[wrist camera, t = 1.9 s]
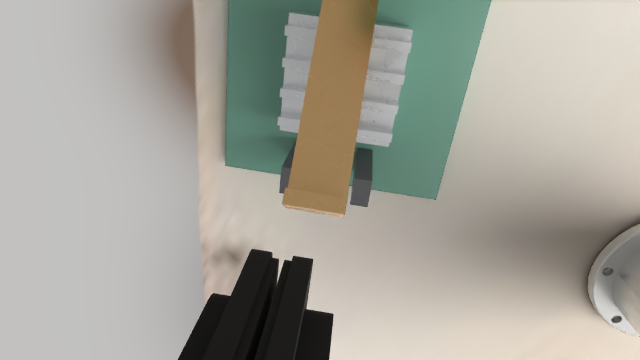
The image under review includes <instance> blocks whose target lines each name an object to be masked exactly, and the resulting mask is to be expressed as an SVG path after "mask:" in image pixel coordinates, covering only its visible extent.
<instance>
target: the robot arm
mask: <svg viewBox="0 0 640 360" xmlns="http://www.w3.org/2000/svg"><path fill="white" fill-rule="evenodd" d="M312 265H313V259H310V258H304V257H298V256H293V259H292V261H288V260H284V263H283V267H282V270H281V273H280V277H279V280H278V283H277V276H278V266H279V259H276V258H272V252H268V251H262V250H256V249H252V250H251V251H250V253H249V256H248V258H247V260H246V262H245V265H244V267H243V269H242V271H241V274H240V276H239V278H238V281H237V283H236V285H235V287H234V290H233V292H232V294H231V296H226V295H220V294H215V293H213V294H212V295H211V296H210V298H209V299H208V301H207V303H206V305H205V307H204V309H203V311H202V313H201V315H200V317H199V319H198V321H197V323H196V325H195V327H194V329H193V331H192V333H191V335H190V337H189V339H188V341H187V343H186V345H185V347H184V348H183V350H182V352H181V354H180V356H179V358H178V360H329V355H330V345H331V335H332V325H333V314H331V313H325V312H319V311H314V310H308V309H306V307H307V300H308V293H309V286H310V279H311V272H312ZM588 293H589V298H590V300H591V302H592V304H593V306H594V308H595V309H596V310H597V312H598V313H599V314H600V316H601V317H602V318H603V319H604V320H605V321H606V322H607V323H608V324H609V325H611V326H613V327H615V328H616V329H618V330H620V331H622V332H625V333H628V334H631V335H635V336H640V224H638V225H635V226H633V227H631V228H630V229H628V230H626V231H625V232H623V233H621V234H620V235H618V236H617V237H616V238H615V239H614V240H612V241H611V242H610V243H609V244H608V245H607V246H606V247H605V248H604V249H603V250H602V251H601V253H600V254H599V255H598V256H597V258H596V260H595V262H594V263H593V265H592V267H591V270H590V273H589V276H588Z"/></svg>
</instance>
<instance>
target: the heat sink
mask: <svg viewBox="0 0 640 360" xmlns="http://www.w3.org/2000/svg"><path fill="white" fill-rule="evenodd" d="M319 16H320V14H318V13H310V12H303V11H294V12H290V13H289V20H288V24H287V25H285V33H284V35H286V36H287V45H286V56H284V57H283V59H282V67H284V68H285V70H284V82H283V86H282V87H281V88H280V97H282V107H281V114H280V115H279V116H278V123H277V125H280V130H282V131H288V132H295V133H298V130H299V124H300V119H301V113H302V108H303V103H304V97H305V92H306V86H307V81H308V76H309V70H310V65H311V59H312V54H313V48H314V43H315V38H316V32H317V27H318V21H319ZM412 32H413V29H412V28H411V27H410V26H405V25H397V24H390V23H383V22H376V21H375V26H374V32H373V38H372V45H371V51H370V57H369V63H368V70H367V76H366V82H365V88H364V95H363V101H362V107H361V114H360V120H359V126H358V132H357V139H356V142H359V143H365V144H372V145H378V146H385V147H389V143H391V141H392V136H393V132H392V129H393V124H394V119H395V115H397V112H398V107H399V105H398V100H399V95H400V90H401V85H403V83H404V79H405V74H404V71H405V66H406V61H407V56H408V53H410V50H411V45H412V43H411V37H412Z"/></svg>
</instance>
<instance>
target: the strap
mask: <svg viewBox="0 0 640 360" xmlns="http://www.w3.org/2000/svg"><path fill="white" fill-rule="evenodd" d="M378 1H379V0H322V5H321V10H320V16H319V21H318V27H317V32H316V38H315V43H314V48H313V54H312V59H311V65H310V70H309V76H308V81H307V86H306V92H305V97H304V103H303V108H302V113H301V119H300V124H299V130H298V135H297V141H296V146H295V151H294V157H293V162H292V168H291V173H290V179H289V184H288V188H285V192H284V197H283V202H282V204H283V205H284V206H285V207H286V208H289V209H295V210H301V211H307V212H313V213H319V214H325V215H331V216H337V217H343V218H344V215H345V209H346V203H347V195H348V189H349V183H350V176H351V170H352V164H353V157H354V151H355V145H356V139H357V132H358V126H359V120H360V114H361V107H362V101H363V95H364V88H365V82H366V76H367V70H368V63H369V57H370V51H371V45H372V38H373V32H374V26H375V20H376V13H377V7H378Z"/></svg>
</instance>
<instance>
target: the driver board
mask: <svg viewBox="0 0 640 360" xmlns="http://www.w3.org/2000/svg"><path fill="white" fill-rule="evenodd" d="M490 3H491V0H379V1H378V7H377V13H376V20H375V21H376V22H383V23H390V24H397V25H405V26H410V27H411V28H412V29H413V32H412V37H411V43H412V45H411V50H410V53H408V56H407V61H406V66H405V71H404V74H405V79H404V83H403V85H401V90H400V95H399V100H398V105H399V107H398V112H397V115H395V119H394V124H393V129H392V132H393V136H392V141H391V143H389V147H385V146H378V145H372V144H365V143H359V142H356V145H355V151H354V157H353V164H352V170H351V176H350V183H349V186H352V192H351V201H350V204H351V205H357V206H363V207H367V206H368V201H369V196H370V191H371V189H372V190H378V191H385V192H391V193H397V194H403V195H409V196H415V197H422V198H428V199H434V200H436V197H437V194H438V190H439V186H440V183H441V179H442V176H443V172H444V168H445V165H446V161H447V158H448V154H449V150H450V147H451V143H452V140H453V136H454V133H455V129H456V125H457V122H458V118H459V115H460V111H461V107H462V104H463V100H464V97H465V93H466V89H467V86H468V82H469V79H470V75H471V71H472V68H473V64H474V61H475V57H476V54H477V50H478V46H479V43H480V39H481V36H482V32H483V28H484V25H485V21H486V18H487V14H488V10H489V7H490ZM321 5H322V0H229V12H228V62H227V111H226V160H225V166H230V167H237V168H243V169H249V170H255V171H261V172H267V173H274V174H280V175H281V180H280V191H279V193H284V192H285V188H288V184H289V179H290V173H291V168H292V162H293V157H294V151H295V146H296V141H297V135H298V133H295V132H288V131H282V130H280V125H277V123H278V116H279V115H280V114H281V107H282V97H280V88H281V87H282V86H283V82H284V70H285V68H284V67H282V59H283V57H284V56H286V45H287V36H286V35H284V33H285V25H287V24H288V20H289V13H290V12H294V11H303V12H310V13H318V14H320V10H321Z"/></svg>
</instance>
